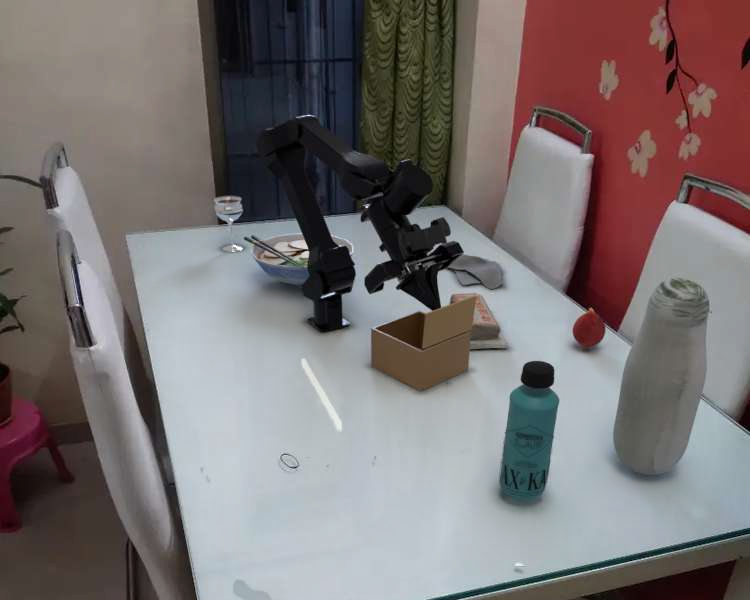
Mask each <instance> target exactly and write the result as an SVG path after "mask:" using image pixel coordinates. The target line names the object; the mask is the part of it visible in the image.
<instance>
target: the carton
mask: <svg viewBox="0 0 750 600" xmlns="http://www.w3.org/2000/svg"><path fill="white" fill-rule="evenodd" d="M426 313H427V312H423V311H421V310H417V311H415V312H412V313H409V314H406V315H404V316H400V317H398V318H395V319H392V320H390V321H388V322H385V323H381V324H379V325H375V326H374V327H371V328H370V334H371V335H370V366H371V367H372V368H374V369H376V370H378V371H380V372H382V373H384V374H385V375H388V376H389V377H391V378H394V379H395V380H398V381H400V382H401V383H403V384H405V385H407V386H409V387H411V388H413V389H415V390H417V391H419V392H423V391H425V390H427V389H430V388H432V387H434V386H437V385H440V384H441V383H444V382H445V381H448V380H450V379H452V378H454V377H457V376H459V375H462V374H464V373H466V372H468V371H469V364H470V351H471V349H470V338H471V332H469V331H466V332H464V333H461V334H459V335H456V336H454V337H451V338H449V339H446V340H444V341H442V342H439V343H437V344H434V345H432V346H429V347H427V348H424V349H423V348H422V344H423V334H424V324H425V314H426Z"/></svg>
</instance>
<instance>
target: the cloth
mask: <svg viewBox="0 0 750 600" xmlns="http://www.w3.org/2000/svg"><path fill="white" fill-rule="evenodd" d="M431 253H432V252H429V255H430V254H431ZM501 267H502V266H500V264H499V263H498V262H497V261H496V260H494V261H493V260H492V261H491V260H489V259H487V258H484V257H481V256H477V255H468V254H465V253H464V254H462V255H461V256H460V257H459V258H458V259H457V260H456V261H455V262H453V263H452V264H451V265H450V266H449V267H448V268H447V269H450V270H452V271H453V272H454V273H455V276H456V279H457V280H458V282H459V283H460V284H461V285H462V286H468V285H469V286H470V285H474V284H478V285H480V284H482V286H483V287H486V289H487V288H488V290H494V289H499V288H500V287H501V286H503V272H502V268H501Z"/></svg>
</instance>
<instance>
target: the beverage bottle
mask: <svg viewBox="0 0 750 600" xmlns="http://www.w3.org/2000/svg"><path fill="white" fill-rule="evenodd" d="M520 382H521V383H522V384H521V385H519V386H517V387H516V388H514V389H513V390H512V391H511V392H510V394H509V404H508V411H507V418H506V419H507V420H506V427H505V431H504V440H503V442H502V449H501V451H502V452H501V458H500V461H501V464H500V466H499V468H500V469H499V472H498V473H499V474H498V475H499V476H498V477H499V478H498V482H499V487H500V489H501V491H502V492H503V493H504V494H505V495H507V496H508V497H510V498H512V499H516V500H523V501H526V500H534V499H537V498H539V497H540V496H542V495H543V493H544V492H545V490H546V488H547V484H548V480H549V479H548V478H549V474H550V473H549V472H550V468H551V467H550V466H551V460H552V459H551V457H552V455H553V453H552V452H553V449H554V448H553V445H554V444H553V443H554V439H555V438H556V437H554V436H555V428H556V421H557V416H558V408H559V405H560V398H559V395H558V394H557V393H556V392H555V391H554V390H553V389H552V388H551V387H552V386H553V385H554V384H555V367H554V366H553V365H552V364H551V363H549V362H547V361H542V360H531V361H527V362H525V363H524V364H523V366H522V370H521V375H520Z"/></svg>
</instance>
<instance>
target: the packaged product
mask: <svg viewBox="0 0 750 600" xmlns="http://www.w3.org/2000/svg"><path fill="white" fill-rule="evenodd" d="M474 295H476V303H475V310H474V318H473V325H472V329H471V330H469V332H471V338H470V350H479V349H480V350H482V349H496V348H497V349H507V348H508V345H509V343H508V341H507V339H506V337H505V336H504V334H503V333H502V330H501V327H500V325H499V324H498V321H497V320H496V318H495V316H494V314H493V313H492V311H491V309H490V307H489V305H488V303H487V302H486V299H485V298H484V296H483V295H481V294H479V293H476V292H467V293H453V294H451V295H450V298H449V300H450V301H449V302H448V303H449V304H448V305H450V304H452V303H455V302H458V301H461V300H463V299H466V298H469V297H471V296H474Z"/></svg>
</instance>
